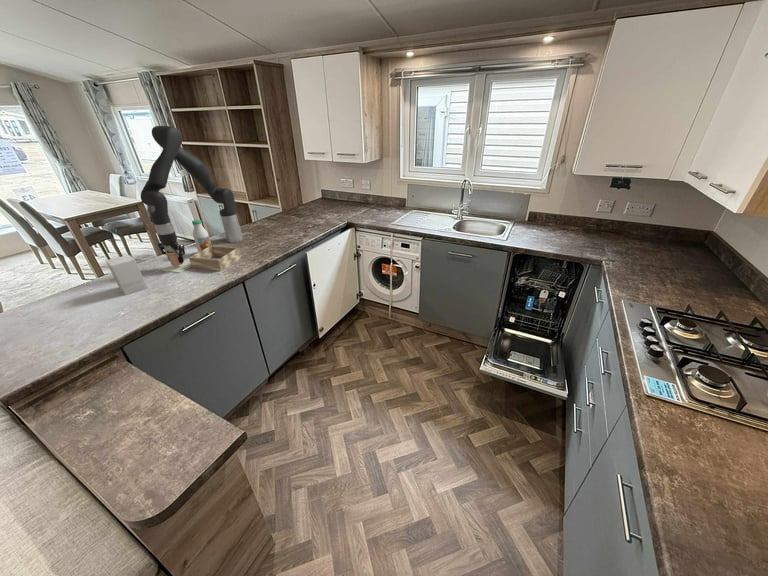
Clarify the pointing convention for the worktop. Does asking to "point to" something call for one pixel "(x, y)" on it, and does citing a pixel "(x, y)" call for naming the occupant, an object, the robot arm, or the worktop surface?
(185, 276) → the worktop surface
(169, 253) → the terracotta pot
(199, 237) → the milk bottle
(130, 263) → the supplement box
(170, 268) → the sage mat
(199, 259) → the wooden shadow box
